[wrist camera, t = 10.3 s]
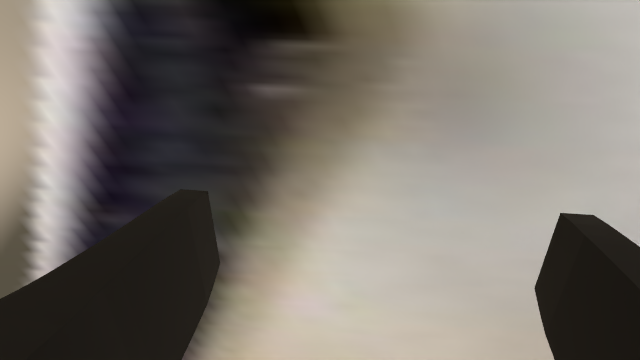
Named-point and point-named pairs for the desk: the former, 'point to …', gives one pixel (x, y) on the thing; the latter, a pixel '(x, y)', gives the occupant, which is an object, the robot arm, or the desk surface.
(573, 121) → the desk surface
